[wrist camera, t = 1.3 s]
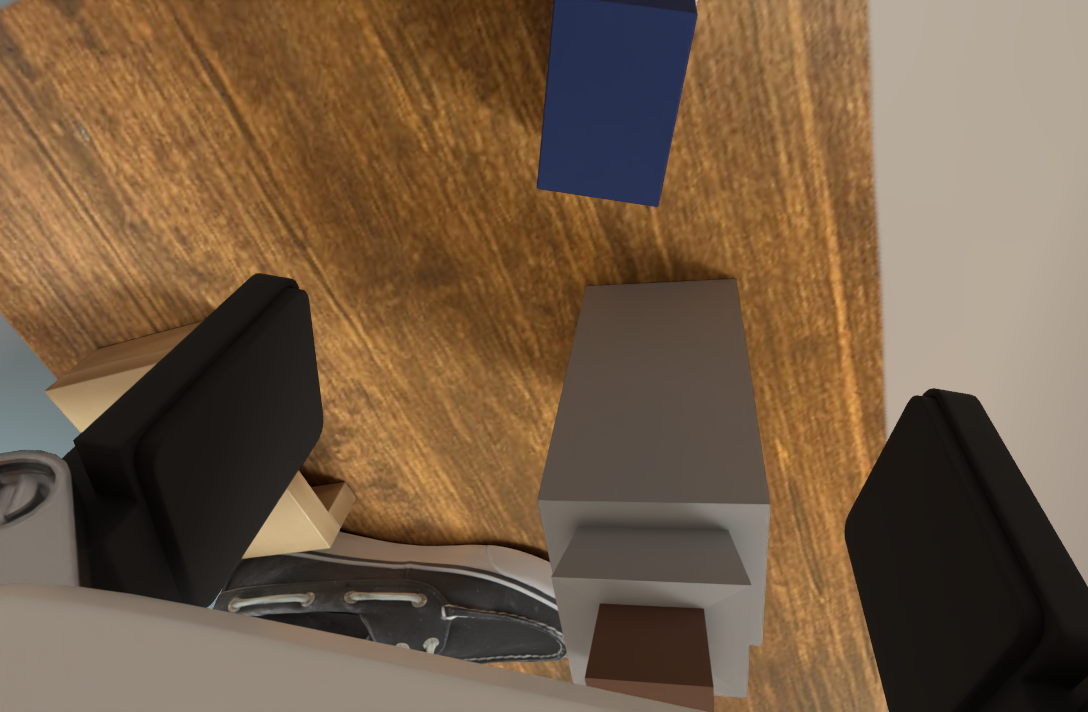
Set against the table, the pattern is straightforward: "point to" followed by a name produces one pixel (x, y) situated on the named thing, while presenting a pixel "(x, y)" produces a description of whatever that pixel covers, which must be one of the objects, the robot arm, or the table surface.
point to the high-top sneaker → (613, 96)
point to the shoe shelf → (114, 369)
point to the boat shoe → (409, 597)
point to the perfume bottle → (658, 495)
